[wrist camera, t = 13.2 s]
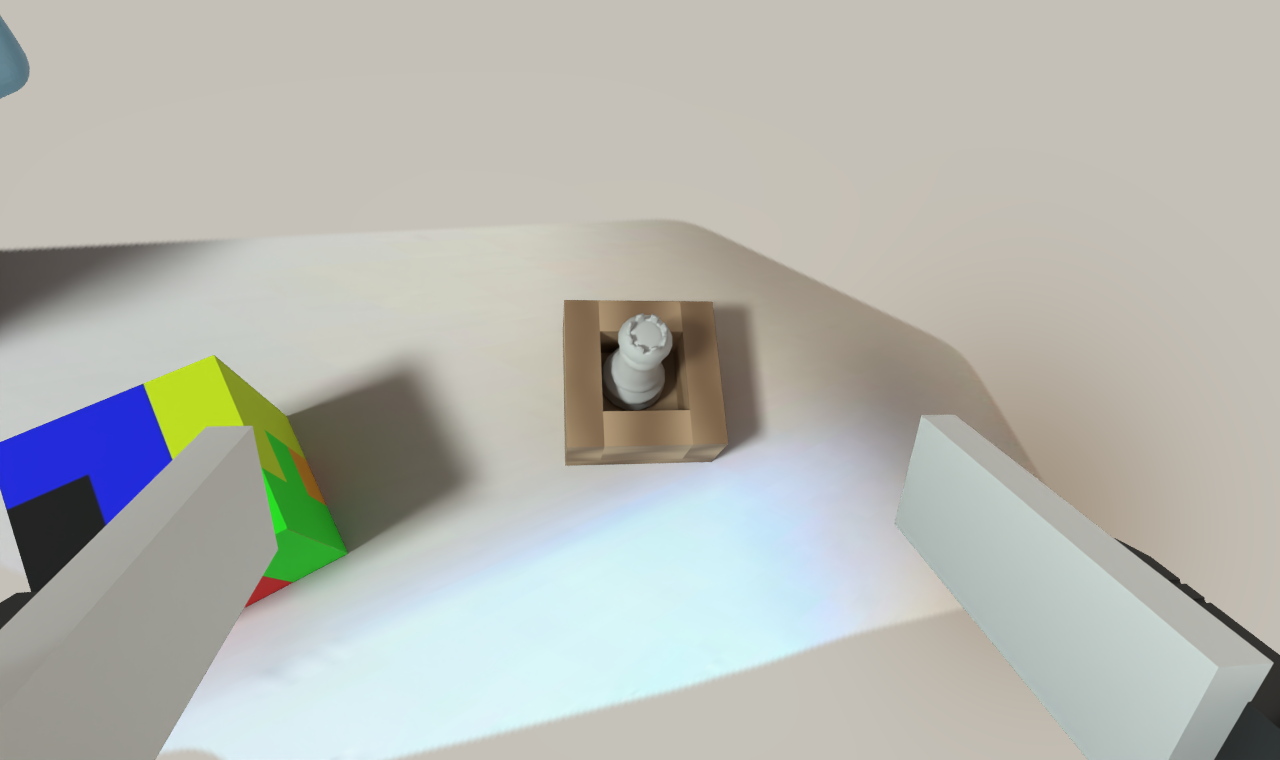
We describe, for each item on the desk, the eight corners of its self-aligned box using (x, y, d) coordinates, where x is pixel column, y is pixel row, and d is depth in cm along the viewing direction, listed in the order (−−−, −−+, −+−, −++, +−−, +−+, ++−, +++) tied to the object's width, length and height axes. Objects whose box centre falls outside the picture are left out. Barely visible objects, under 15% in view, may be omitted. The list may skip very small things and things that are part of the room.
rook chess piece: (622, 341, 46) (637, 284, 39) (675, 376, 45) (699, 325, 38) (586, 388, 44) (594, 338, 37) (640, 425, 44) (658, 382, 36)
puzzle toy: (119, 491, 39) (-13, 447, 30) (287, 416, 42) (213, 354, 33) (174, 645, 37) (48, 648, 27) (348, 553, 39) (287, 528, 30)
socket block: (565, 465, 43) (567, 447, 39) (562, 330, 47) (564, 300, 43) (711, 461, 45) (728, 443, 40) (698, 330, 48) (712, 301, 44)
